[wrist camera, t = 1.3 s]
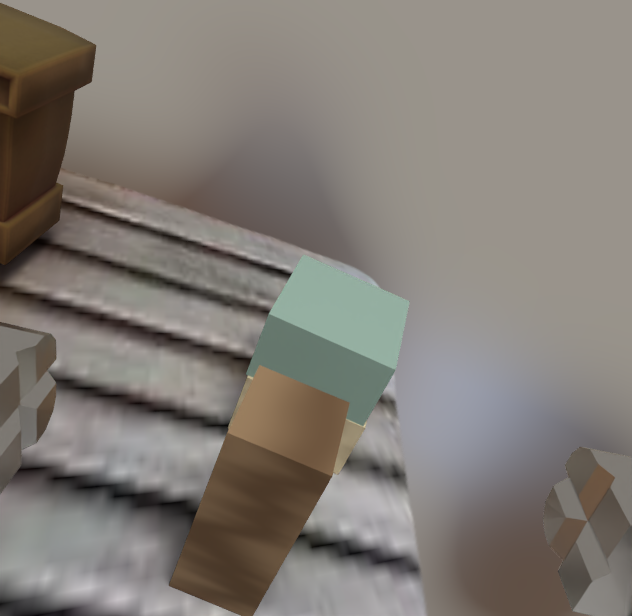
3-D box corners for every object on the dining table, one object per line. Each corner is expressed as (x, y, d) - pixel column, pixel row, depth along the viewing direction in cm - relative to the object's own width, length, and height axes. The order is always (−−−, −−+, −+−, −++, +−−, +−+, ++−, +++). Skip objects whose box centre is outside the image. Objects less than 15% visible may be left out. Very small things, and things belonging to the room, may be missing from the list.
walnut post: (168, 585, 30) (227, 432, 23) (201, 514, 34) (259, 364, 27) (250, 619, 30) (332, 476, 23) (273, 544, 34) (349, 402, 27)
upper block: (245, 374, 37) (268, 313, 34) (281, 309, 44) (303, 254, 41) (362, 426, 37) (395, 369, 34) (381, 353, 44) (409, 301, 41)
